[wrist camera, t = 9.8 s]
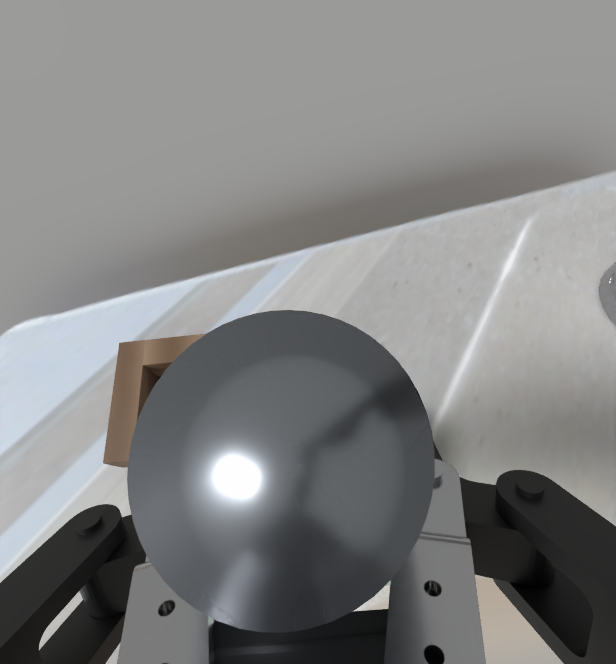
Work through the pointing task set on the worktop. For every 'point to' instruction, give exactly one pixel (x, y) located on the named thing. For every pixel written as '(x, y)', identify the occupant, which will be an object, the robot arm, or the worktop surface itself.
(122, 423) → the walnut socket
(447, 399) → the worktop surface
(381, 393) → the ball
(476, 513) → the robot arm
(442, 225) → the worktop surface
